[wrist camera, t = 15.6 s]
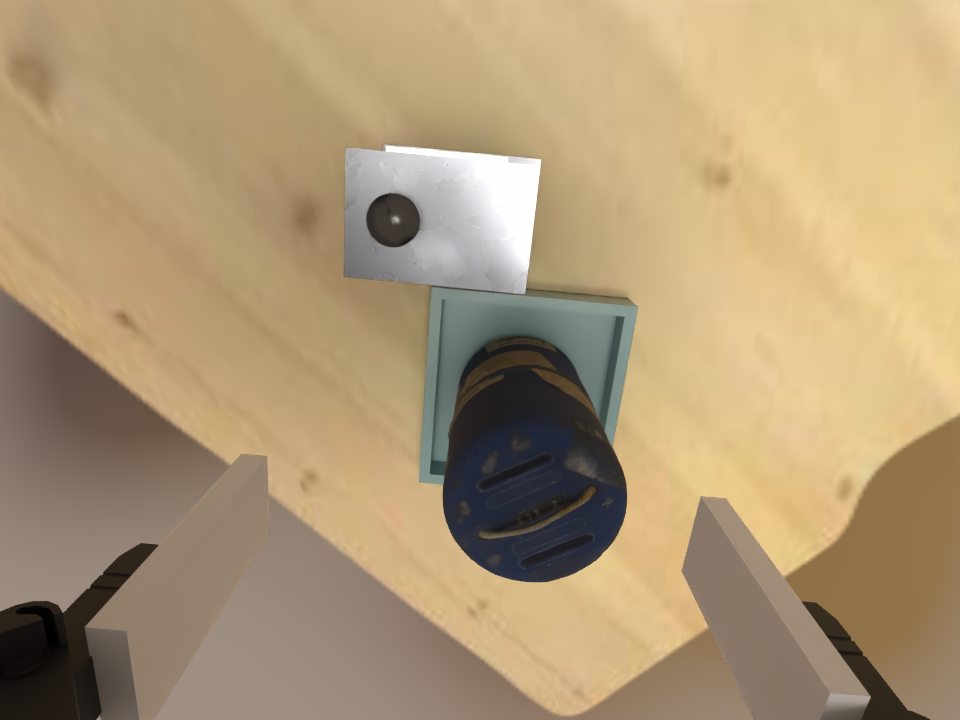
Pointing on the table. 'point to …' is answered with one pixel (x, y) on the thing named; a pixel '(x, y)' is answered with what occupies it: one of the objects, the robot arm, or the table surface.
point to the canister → (530, 465)
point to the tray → (538, 313)
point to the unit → (439, 217)
